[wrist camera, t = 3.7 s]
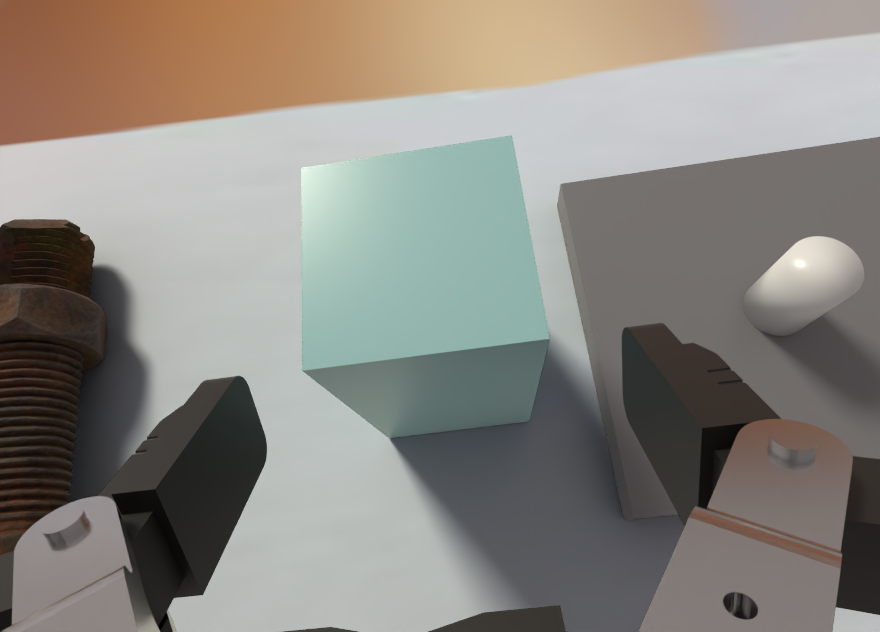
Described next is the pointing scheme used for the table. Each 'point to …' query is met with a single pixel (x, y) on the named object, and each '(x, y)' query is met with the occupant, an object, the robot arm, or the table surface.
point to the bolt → (42, 365)
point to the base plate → (737, 286)
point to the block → (423, 288)
